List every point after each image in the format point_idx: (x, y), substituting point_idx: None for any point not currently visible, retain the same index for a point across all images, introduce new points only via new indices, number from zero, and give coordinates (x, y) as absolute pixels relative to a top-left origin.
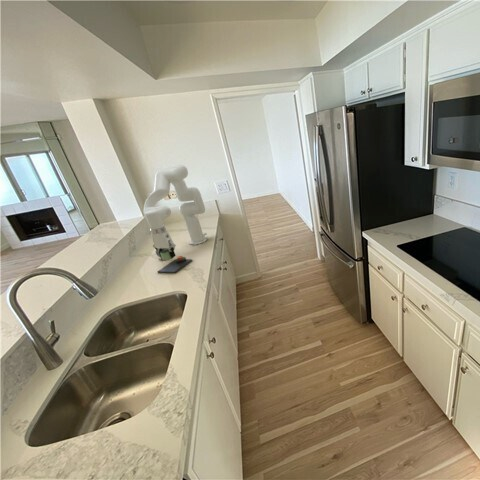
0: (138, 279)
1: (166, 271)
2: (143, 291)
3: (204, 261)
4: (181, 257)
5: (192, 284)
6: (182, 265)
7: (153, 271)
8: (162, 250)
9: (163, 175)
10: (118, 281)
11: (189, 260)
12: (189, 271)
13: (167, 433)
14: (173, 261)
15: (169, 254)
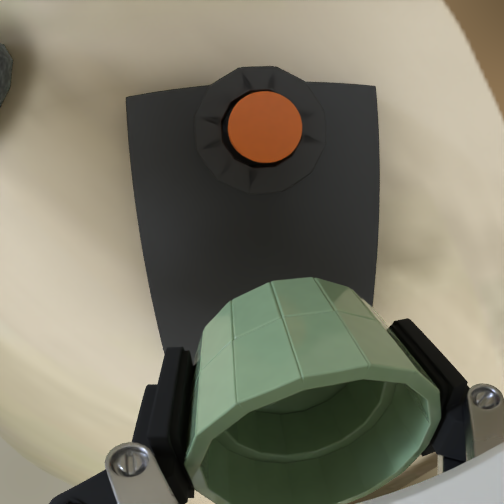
0: (103, 422)
1: None
2: None
3: (479, 111)
4: (300, 127)
5: (501, 377)
6: (370, 236)
7: (88, 331)
8: (193, 467)
9: None
10: (15, 426)
11: (371, 115)
12: (453, 283)
13: None
14: (152, 155)
15: (392, 426)
